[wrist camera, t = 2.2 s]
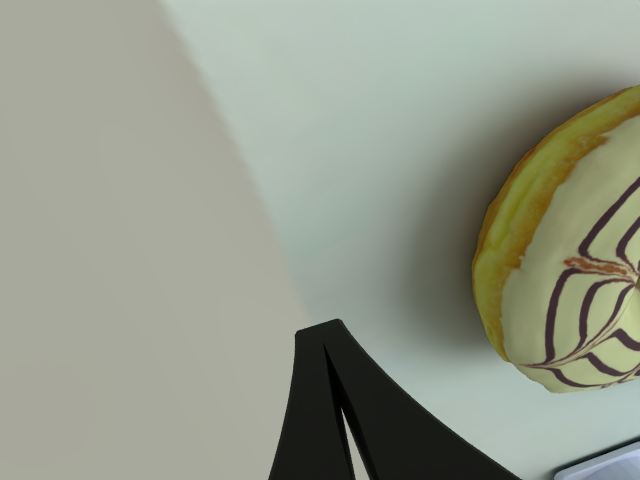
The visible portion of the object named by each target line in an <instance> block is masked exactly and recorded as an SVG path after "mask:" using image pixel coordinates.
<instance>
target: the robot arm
mask: <svg viewBox="0 0 640 480" xmlns="http://www.w3.org/2000/svg"><path fill="white" fill-rule="evenodd" d="M341 408H342V410H343V413H344V415H345V418H346V421H347V423H348V426H349V428H350V431H351V433H352V436H353V438H354V441H355V443H356V446H357V448H358V451H359V454H360V456H361V459H362V461H363V463H364V466H365V469H366V471H367V474H368V476H369V479H370V480H522V479H520V478H519V477H517V476H516V475H514V474H513V473H511V472H510V471H508V470H507V469H506V468H504V467H503V466H501V465H500V464H498V463H497V462H496V461H494V460H493V459H491V458H490V457H488V456H487V455H485V454H484V453H483V452H481V451H480V450H478V449H477V448H475V447H474V446H473V445H471V444H470V443H468V442H467V441H466V440H464V439H463V438H462V437H460V436H459V435H458V434H456V433H455V432H454V431H452V430H451V429H450V428H448V427H447V426H446V425H445V424H443V423H442V422H441V421H440V420H438V419H437V418H436V417H435V416H433V415H432V414H431V413H430V412H428V411H427V410H426V409H425V408H424V407H422V406H421V405H420V404H419V403H418V402H417V401H416V400H414V399H413V398H412V397H411V396H410V395H409V394H408V393H407V392H405V391H404V390H403V389H402V388H401V387H400V386H399V385H398V384H397V383H396V382H395V381H394V380H393V379H392V378H391V377H390V376H389V375H387V374H386V373H385V372H384V371H383V369H382V368H381V367H380V366H379V365H378V364H377V363H376V362H375V361H374V360H373V359H372V358H371V357H370V356H369V355H368V354H367V353H366V351H365V350H364V349H363V348H362V347H361V346H360V344H359V343H358V342H357V341H356V340H355V338H354V337H353V336H352V335H351V333H350V332H349V331H348V329H347V328H346V326H345V325H344V323H343V322H342V320H340V319H338V318H337V319H334V320H331V321H328V322H324V323H321V324H318V325H315V326H311V327H308V328H305V329H302V330H299V331H297V332H296V334H295V357H294V366H293V375H292V381H291V387H290V393H289V399H288V404H287V409H286V413H285V418H284V422H283V427H282V431H281V436H280V439H279V443H278V447H277V451H276V454H275V458H274V462H273V465H272V469H271V472H270V475H269V479H268V480H356V479H355V474H354V469H353V464H352V460H351V454H350V449H349V444H348V439H347V434H346V429H345V424H344V419H343V415H342V410H341ZM554 480H640V441H639V442H636V443H633V444H631V445H628V446H625V447H623V448H620V449H617V450H615V451H612V452H609V453H607V454H604V455H601V456H599V457H596V458H593V459H591V460H588V461H585V462H583V463H580V464H578V465H575V466H572V467H570V468H567V469H564V470H562V471H560V472H558V473H557V474H556V475H555V477H554Z"/></svg>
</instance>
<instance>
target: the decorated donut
mask: <svg viewBox="0 0 640 480" xmlns="http://www.w3.org/2000/svg"><path fill="white" fill-rule="evenodd" d="M477 243H478V246H477V250H476V253H475V256H474V259H473V261H472V283H473V295H474V298H475V304H476V306H477V308H478V311H479V313H480V316H481V321H482V324H483V325H484V327H485V331H486V336H487V338H488V340H489V341H490V342H491V343H492V345H493V347H494V349H495V350H496V351H497V353H498V354H499V355H500V356H501V358H502V359H503V360H505V361H507V362H511V363H512V364H513V365H514V366H515V367H516V368H517V369H518V370H519V371H520V372H522V373H523V374H525V375H526V376H527V377H528V378H529V379H531V380H533V381H536V382H538V383H540V384H541V385H543V386H544V387H545V388H546V389H547V390H548V391H550V392H552V393H567V392H576V391H582V390H588V389H602V388H606V387H610V386H614V385H617V384H620V383H624V382H627V381H630V380H633V379H636V378H638V377H640V85H638V86H636V87H630V88H627V89H623V90H621V91H619V92H617V93H615V94H613V95H611V96H609V97H607V98H605V99H603V100H601V101H599V102H597V103H595V104H593V105H592V106H590V107H588V108H586V109H584V110H582V111H581V112H580V113H578V114H576V115H575V116H574V117H572V118H570V119H569V120H567V121H566V122H565V123H563V124H561V125H559V126H558V127H556V128H555V129H553V130H552V131H551V132H550V133H549V134H548V135H547V136H545V137H544V138H543V139H542V140H541V141H540V142H539V143H538V144H537V145H536V146H535V147H533V148H532V149H530V150H529V151H528V152H527V153H526V154H525V155H524V156H523V157H522V158H521V159H520V160H519V162H518V163H517V164H516V165H515V166H514V169H513V171H512V172H511V173H510V175H509V177H508V178H507V180H506V181H505V184H504V185H503V187H502V188H501V190H500V191H499V193H498V195H497V197H495V199H494V200H493V201H492V202H491V203H490V204H489V206H488V209H487V212H486V215H485V217H484V220H483V222H482V228H481V230H480V232H479V236H478V239H477Z"/></svg>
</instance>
